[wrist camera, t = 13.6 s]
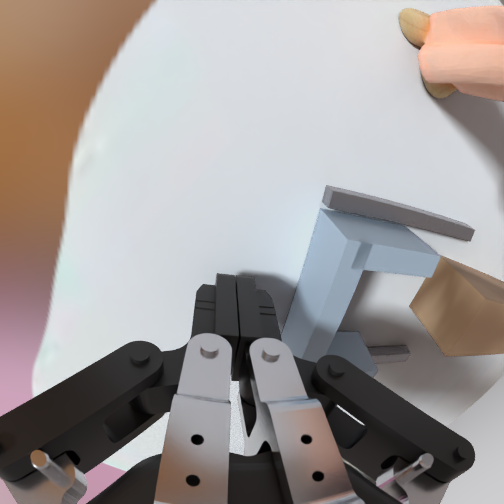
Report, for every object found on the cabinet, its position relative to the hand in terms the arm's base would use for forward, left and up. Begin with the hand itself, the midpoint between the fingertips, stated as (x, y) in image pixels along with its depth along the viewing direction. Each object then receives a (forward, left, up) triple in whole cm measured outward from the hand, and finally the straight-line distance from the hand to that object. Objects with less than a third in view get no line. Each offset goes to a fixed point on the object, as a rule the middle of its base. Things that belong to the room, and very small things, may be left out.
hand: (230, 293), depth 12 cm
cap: (0, -6, -1) cm, 6 cm away
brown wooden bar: (0, -18, -1) cm, 19 cm away
